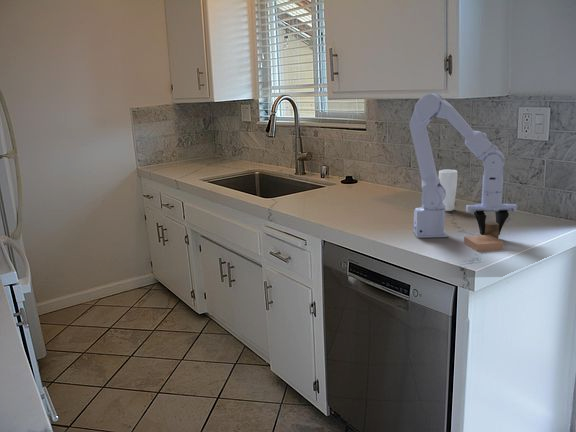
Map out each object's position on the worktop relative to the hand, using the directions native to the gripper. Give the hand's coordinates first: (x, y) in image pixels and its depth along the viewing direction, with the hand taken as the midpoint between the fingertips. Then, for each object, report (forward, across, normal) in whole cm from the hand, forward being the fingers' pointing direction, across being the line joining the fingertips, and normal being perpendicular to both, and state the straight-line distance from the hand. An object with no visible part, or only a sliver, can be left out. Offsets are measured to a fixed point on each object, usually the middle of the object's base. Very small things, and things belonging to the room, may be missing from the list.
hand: (489, 234), depth 158 cm
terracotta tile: (+2, -4, -7) cm, 8 cm away
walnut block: (+1, 0, 0) cm, 1 cm away
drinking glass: (+2, -4, +38) cm, 38 cm away
